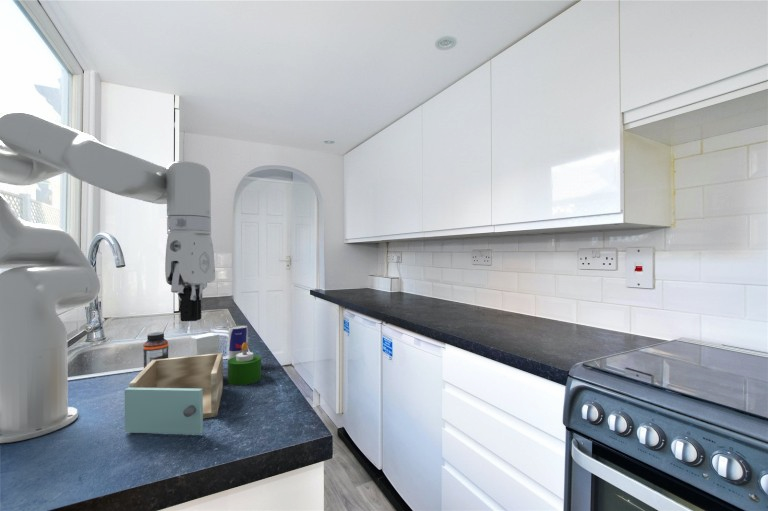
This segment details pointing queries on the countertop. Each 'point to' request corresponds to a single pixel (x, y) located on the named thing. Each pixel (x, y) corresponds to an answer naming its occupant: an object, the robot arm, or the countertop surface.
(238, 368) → the candle
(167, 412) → the door
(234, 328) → the energy drink
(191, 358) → the crate
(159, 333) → the supplement bottle
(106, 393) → the countertop surface
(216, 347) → the skincare box
